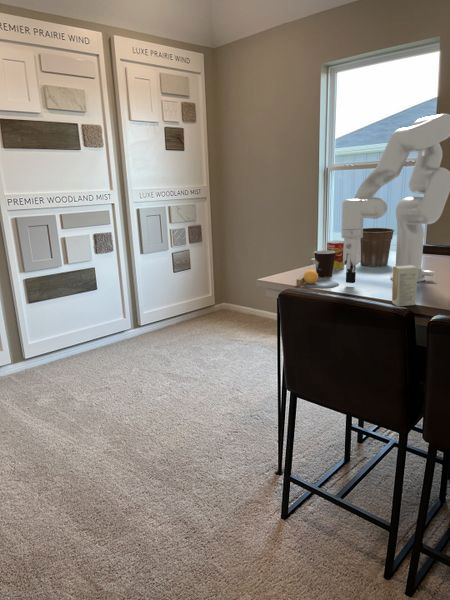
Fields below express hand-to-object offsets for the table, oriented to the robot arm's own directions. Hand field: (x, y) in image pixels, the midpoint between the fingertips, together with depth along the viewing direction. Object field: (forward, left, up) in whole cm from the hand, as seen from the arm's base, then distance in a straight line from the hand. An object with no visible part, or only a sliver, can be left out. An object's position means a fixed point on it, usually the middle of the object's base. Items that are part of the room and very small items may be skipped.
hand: (350, 282), depth 169 cm
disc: (+11, 0, -2) cm, 11 cm away
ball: (+15, +1, +1) cm, 15 cm away
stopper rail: (+19, 0, -2) cm, 19 cm away
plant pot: (-2, -47, -2) cm, 47 cm away
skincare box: (-20, +20, -2) cm, 29 cm away
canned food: (+14, -34, -2) cm, 37 cm away
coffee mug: (+14, -18, -2) cm, 23 cm away
